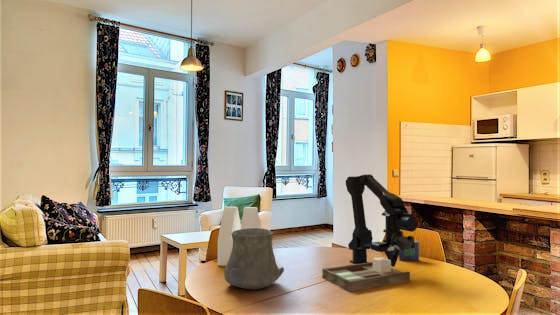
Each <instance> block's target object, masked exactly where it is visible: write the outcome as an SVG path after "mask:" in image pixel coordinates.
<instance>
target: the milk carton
mask: <svg viewBox="0 0 560 315" xmlns="http://www.w3.org/2000/svg"><path fill="white" fill-rule="evenodd" d="M221 216H222V218H221V222H220V225H219V231H218V236H217V266H221V267H222V266H225V267H226V265H227V262H228V260H229V257H230V254H231V251H232V247H233V239H232V235H231V233H232V232H234V231H236V230H241V229H248V228H260V229H262V228H261V222H260V215H259V210H258V207H257V206H256V207H253V206H250V207H249V206H244V207H243V211H242V218H240V213H239V208H238V206H224V207H223V211H222V215H221Z"/></svg>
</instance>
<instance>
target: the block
mask: <svg viewBox="0 0 560 315" xmlns="http://www.w3.org/2000/svg"><path fill="white" fill-rule="evenodd" d="M372 262H373V270H375V271H377V272H380V273H385V272H391V268H392V266H391V260H389V259H388V258H387V257H384V256H383V257H373V258H372Z"/></svg>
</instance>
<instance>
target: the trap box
mask: <svg viewBox="0 0 560 315" xmlns="http://www.w3.org/2000/svg"><path fill="white" fill-rule="evenodd" d="M368 262H369V263H361V264H354V263H353V264H347V265H340V266H334V267H333V266H332V267H325V268H322V271H321V272H322V278H323V279H324V280H326V281H328V282H330V283H332V284H334V285H335V286H338V287H340V288H341V289H343V290H345V291H347V292H349V293H350V292H351V293H352V292H356V291H362V290H368V289H373V288H379V287H386V286H391V285H397V284H404V283H409V282H411V272H410V271H400V270H398V269H394V268H392V267H391V272H385V273H380V272H377V271H375V270H373V261H371V262H370V261H368Z"/></svg>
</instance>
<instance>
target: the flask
mask: <svg viewBox="0 0 560 315" xmlns="http://www.w3.org/2000/svg"><path fill="white" fill-rule="evenodd" d="M414 243H415V248H410V249H405V250H404V251H402V252H401V253H400V254H399V256H398V259H399V261H401V262H419V261H420V242H419V241H418V240H414Z"/></svg>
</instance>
